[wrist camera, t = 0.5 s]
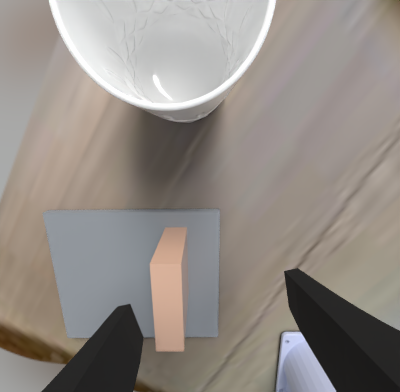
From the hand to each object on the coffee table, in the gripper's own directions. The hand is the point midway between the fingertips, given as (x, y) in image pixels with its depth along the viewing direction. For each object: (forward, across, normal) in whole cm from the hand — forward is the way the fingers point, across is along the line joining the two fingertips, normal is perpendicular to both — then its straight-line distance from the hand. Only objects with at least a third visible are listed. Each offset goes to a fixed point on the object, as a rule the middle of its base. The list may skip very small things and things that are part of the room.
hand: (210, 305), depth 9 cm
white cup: (+11, -1, -12) cm, 16 cm away
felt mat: (+10, +8, +4) cm, 14 cm away
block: (+10, +3, +3) cm, 11 cm away
